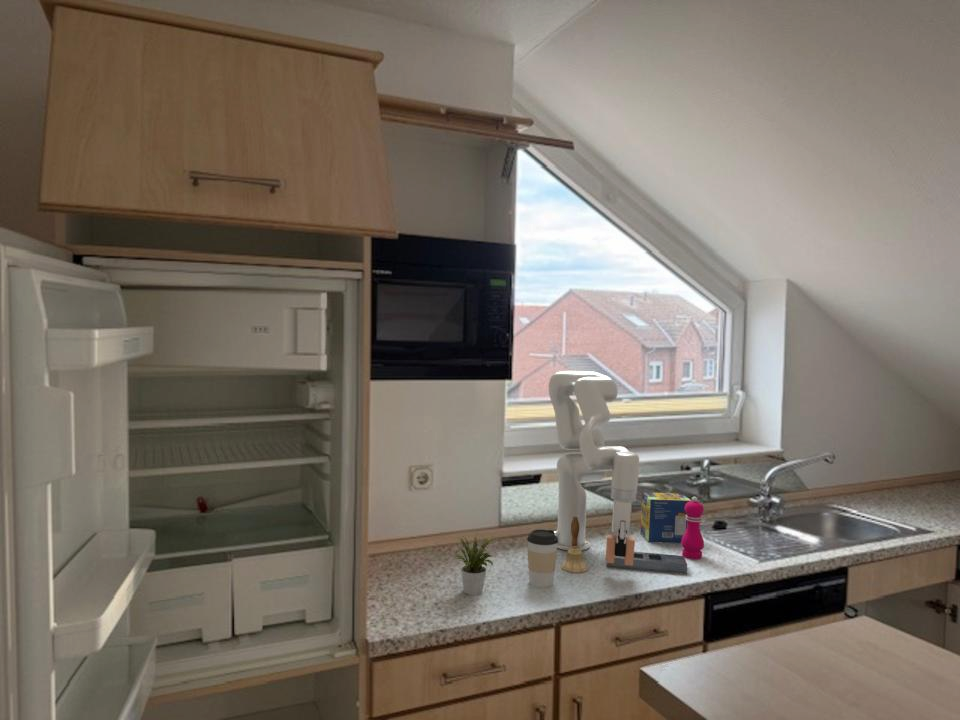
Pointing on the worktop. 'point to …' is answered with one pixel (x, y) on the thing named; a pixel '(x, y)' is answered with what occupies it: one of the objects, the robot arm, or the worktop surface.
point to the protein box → (663, 517)
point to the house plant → (474, 566)
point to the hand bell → (574, 552)
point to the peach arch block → (611, 549)
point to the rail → (653, 562)
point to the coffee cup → (542, 557)
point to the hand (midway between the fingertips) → (619, 553)
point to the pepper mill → (693, 530)
